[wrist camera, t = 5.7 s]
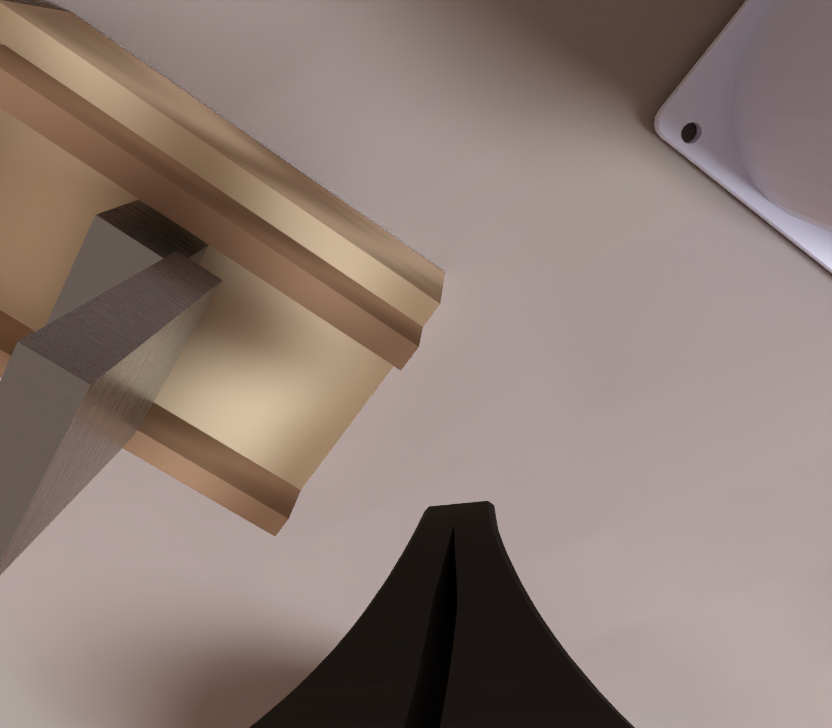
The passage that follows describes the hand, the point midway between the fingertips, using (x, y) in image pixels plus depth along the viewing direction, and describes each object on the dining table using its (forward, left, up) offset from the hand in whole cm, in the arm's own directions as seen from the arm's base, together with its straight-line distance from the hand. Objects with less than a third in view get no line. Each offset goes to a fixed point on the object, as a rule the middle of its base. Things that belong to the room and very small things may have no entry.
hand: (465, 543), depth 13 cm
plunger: (+9, +2, -5) cm, 10 cm away
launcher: (+9, +2, -8) cm, 12 cm away
